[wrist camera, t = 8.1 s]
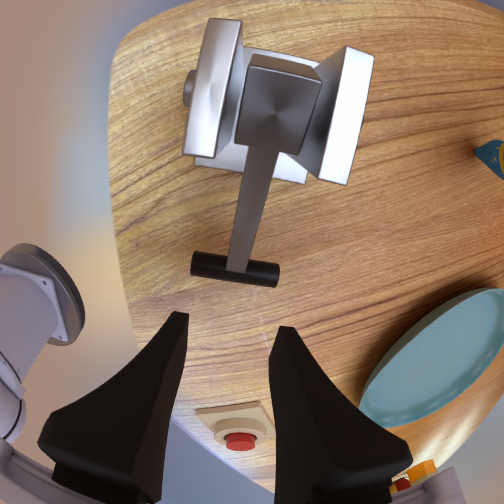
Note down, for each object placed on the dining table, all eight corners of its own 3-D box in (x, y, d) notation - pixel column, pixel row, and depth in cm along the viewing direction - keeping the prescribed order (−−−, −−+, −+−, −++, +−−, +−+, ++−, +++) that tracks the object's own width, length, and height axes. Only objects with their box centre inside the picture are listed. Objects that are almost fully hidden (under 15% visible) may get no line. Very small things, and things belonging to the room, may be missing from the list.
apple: (381, 486, 69) (387, 508, 58) (401, 476, 65) (408, 499, 54) (396, 482, 71) (402, 503, 60) (415, 472, 67) (422, 494, 56)
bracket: (302, 181, 17) (357, 245, 9) (195, 163, 17) (143, 209, 8) (326, 68, 14) (407, 26, 5) (217, 46, 13) (189, -28, 5)
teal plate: (440, 400, 33) (447, 413, 30) (321, 416, 31) (325, 436, 28) (522, 284, 23) (535, 296, 20) (416, 257, 20) (436, 277, 17)
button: (221, 432, 28) (221, 442, 27) (249, 429, 28) (250, 440, 26) (232, 442, 30) (231, 452, 28) (258, 439, 29) (258, 449, 28)
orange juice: (417, 468, 62) (428, 507, 44) (406, 471, 60) (417, 512, 42) (433, 459, 59) (446, 498, 41) (423, 461, 57) (436, 503, 39)
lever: (274, 266, 18) (273, 299, 16) (195, 254, 17) (188, 286, 15) (347, 76, 8) (366, 96, 7) (213, 47, 8) (198, 58, 6)
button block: (196, 409, 29) (194, 425, 27) (259, 400, 28) (260, 418, 26) (225, 439, 33) (225, 453, 31) (278, 432, 32) (280, 447, 30)
